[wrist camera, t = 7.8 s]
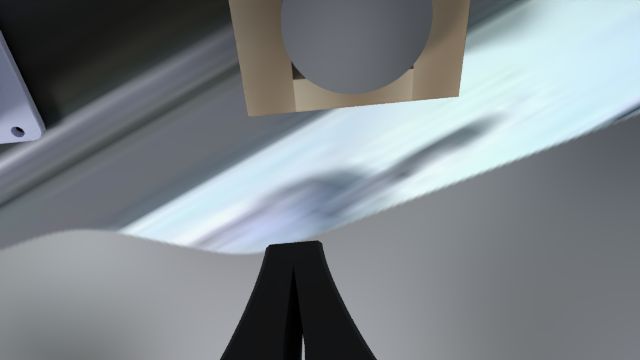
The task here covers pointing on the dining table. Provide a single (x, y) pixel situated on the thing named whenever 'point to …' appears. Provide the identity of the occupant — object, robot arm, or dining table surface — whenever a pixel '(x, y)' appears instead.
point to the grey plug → (354, 40)
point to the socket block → (302, 95)
